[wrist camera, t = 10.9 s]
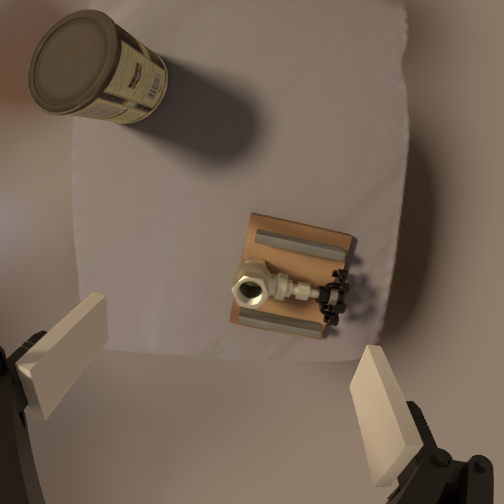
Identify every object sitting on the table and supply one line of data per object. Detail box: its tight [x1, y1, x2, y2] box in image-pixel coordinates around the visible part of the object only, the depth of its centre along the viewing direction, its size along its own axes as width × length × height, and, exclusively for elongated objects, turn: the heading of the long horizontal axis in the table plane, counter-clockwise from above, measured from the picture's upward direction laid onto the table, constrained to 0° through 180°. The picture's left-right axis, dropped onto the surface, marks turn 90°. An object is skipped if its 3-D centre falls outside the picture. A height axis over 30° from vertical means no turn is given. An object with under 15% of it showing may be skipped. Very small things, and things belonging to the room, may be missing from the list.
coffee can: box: [28, 10, 168, 124], centre depth 28 cm, size 10×10×14 cm
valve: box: [232, 257, 349, 326], centre depth 35 cm, size 7×7×12 cm
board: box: [229, 213, 352, 340], centre depth 38 cm, size 14×12×4 cm
